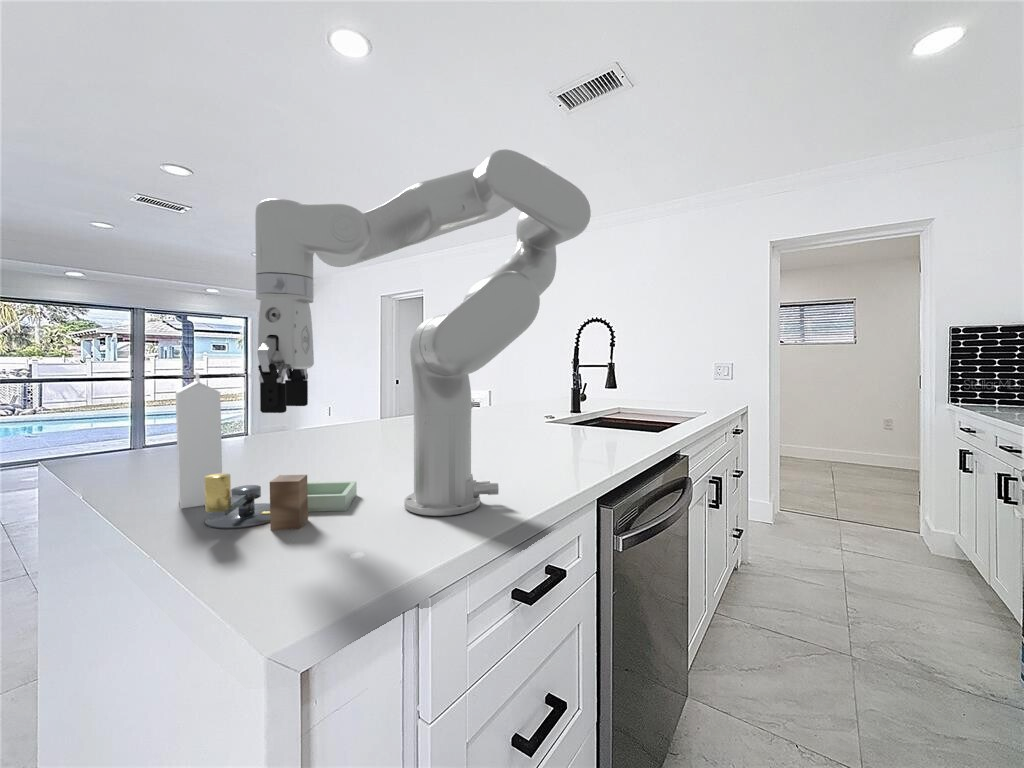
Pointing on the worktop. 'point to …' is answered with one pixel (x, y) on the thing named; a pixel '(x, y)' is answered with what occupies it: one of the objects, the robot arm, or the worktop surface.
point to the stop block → (288, 502)
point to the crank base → (242, 516)
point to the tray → (330, 495)
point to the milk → (197, 440)
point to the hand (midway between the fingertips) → (285, 408)
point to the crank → (226, 494)
